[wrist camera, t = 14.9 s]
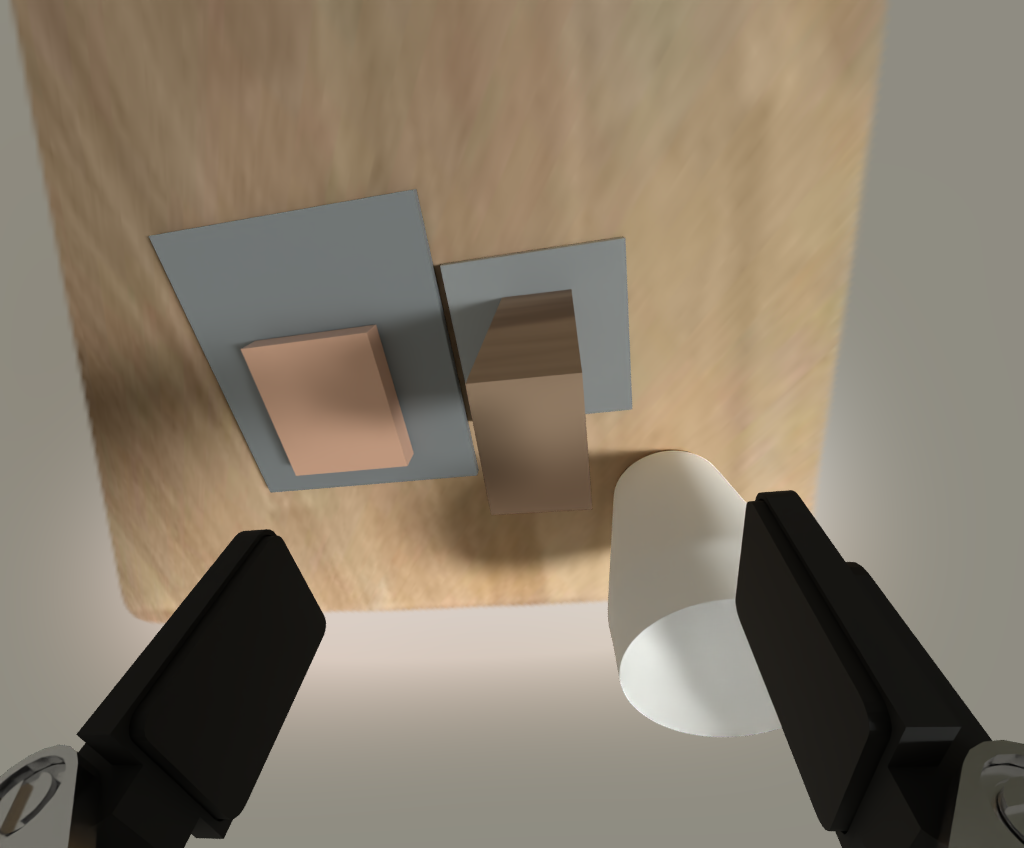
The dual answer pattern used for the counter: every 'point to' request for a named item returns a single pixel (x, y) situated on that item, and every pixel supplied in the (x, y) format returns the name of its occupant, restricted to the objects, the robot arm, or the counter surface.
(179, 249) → the mat
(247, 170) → the counter surface
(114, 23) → the counter surface
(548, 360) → the bar
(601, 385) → the coaster
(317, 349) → the tile
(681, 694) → the cup
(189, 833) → the robot arm
